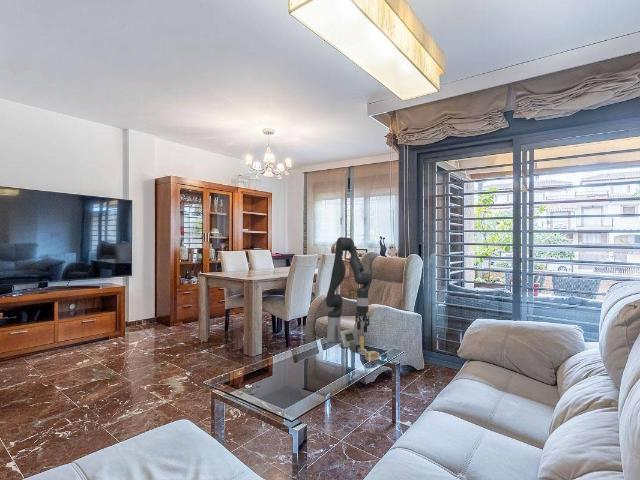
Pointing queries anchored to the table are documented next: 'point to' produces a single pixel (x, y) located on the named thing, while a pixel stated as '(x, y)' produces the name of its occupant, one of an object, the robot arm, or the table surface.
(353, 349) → the sleeve
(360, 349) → the tube
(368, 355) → the tan block
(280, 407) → the table surface
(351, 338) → the digital clock
